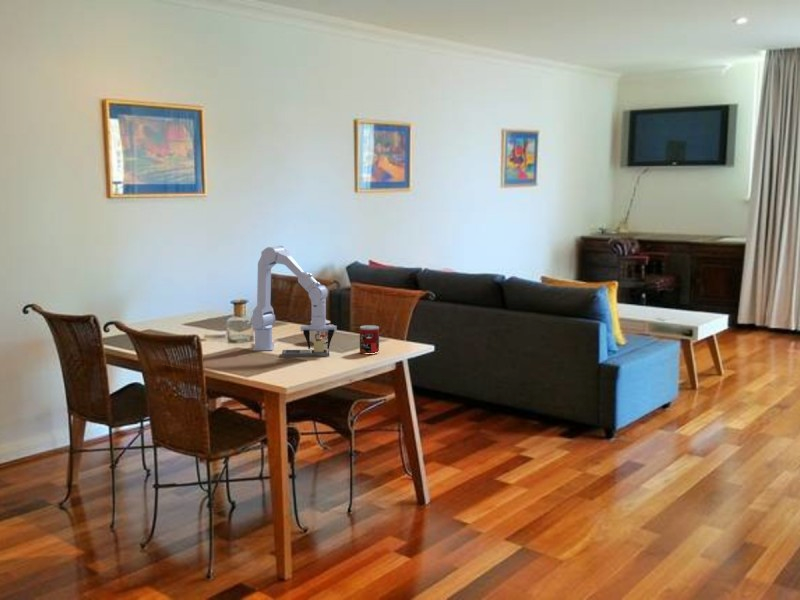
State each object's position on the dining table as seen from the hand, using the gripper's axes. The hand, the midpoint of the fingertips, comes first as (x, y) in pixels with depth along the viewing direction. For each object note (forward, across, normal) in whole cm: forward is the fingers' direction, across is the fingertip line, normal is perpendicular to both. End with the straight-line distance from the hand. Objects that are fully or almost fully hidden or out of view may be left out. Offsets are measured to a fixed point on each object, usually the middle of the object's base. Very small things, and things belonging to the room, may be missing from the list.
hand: (318, 348), depth 320 cm
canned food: (+3, +21, +3) cm, 21 cm away
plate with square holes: (+3, -5, 0) cm, 6 cm away
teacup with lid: (+3, +2, +28) cm, 28 cm away
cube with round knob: (+3, 0, 0) cm, 3 cm away
